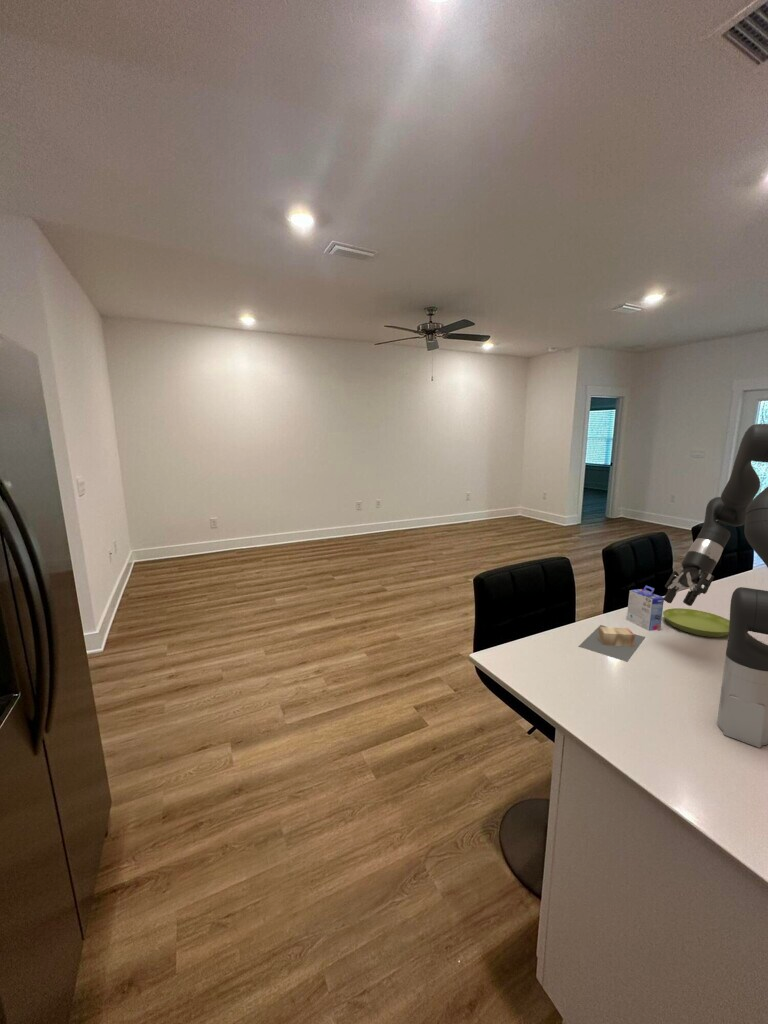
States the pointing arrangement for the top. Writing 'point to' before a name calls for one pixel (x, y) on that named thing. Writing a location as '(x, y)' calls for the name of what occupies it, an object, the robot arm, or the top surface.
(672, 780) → the top surface
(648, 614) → the ink cartridge box
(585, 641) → the rubber mat
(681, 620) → the saucer
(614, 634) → the beech block
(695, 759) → the top surface
